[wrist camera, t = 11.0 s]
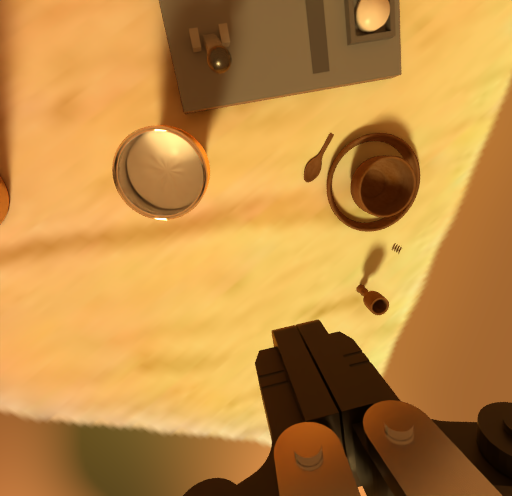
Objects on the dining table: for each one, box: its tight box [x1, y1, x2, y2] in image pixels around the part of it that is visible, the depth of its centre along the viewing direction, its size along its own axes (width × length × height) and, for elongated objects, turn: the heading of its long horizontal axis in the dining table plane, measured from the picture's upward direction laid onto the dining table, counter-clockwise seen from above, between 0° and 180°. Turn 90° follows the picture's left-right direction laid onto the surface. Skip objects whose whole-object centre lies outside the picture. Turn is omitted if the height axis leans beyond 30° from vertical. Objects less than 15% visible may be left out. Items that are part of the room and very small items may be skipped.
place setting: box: [304, 133, 420, 315], centre depth 40 cm, size 18×20×6 cm
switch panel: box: [159, 0, 401, 114], centre depth 33 cm, size 24×12×4 cm, turn 100°
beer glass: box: [112, 125, 210, 220], centre depth 30 cm, size 7×7×15 cm
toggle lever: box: [203, 33, 232, 74], centre depth 29 cm, size 2×2×9 cm
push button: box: [354, 0, 390, 33], centre depth 33 cm, size 3×3×1 cm
